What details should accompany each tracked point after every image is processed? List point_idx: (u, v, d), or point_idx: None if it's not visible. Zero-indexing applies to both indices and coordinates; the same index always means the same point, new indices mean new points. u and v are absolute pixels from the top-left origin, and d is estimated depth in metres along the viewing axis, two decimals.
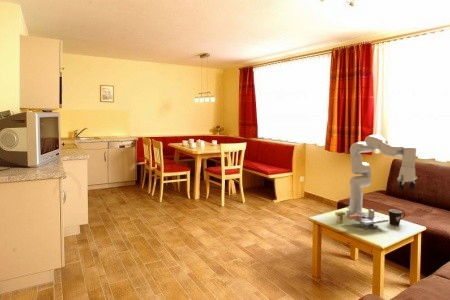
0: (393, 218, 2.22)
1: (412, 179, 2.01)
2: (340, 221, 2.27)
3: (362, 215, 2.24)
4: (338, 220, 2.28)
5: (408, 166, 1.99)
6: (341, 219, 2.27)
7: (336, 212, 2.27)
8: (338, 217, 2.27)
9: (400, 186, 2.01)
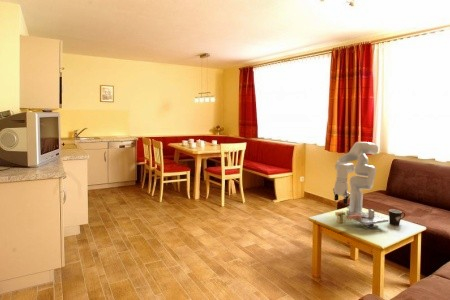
0: (393, 218, 2.22)
1: None
2: (340, 221, 2.27)
3: (362, 215, 2.24)
4: (338, 220, 2.28)
5: None
6: (341, 219, 2.27)
7: (336, 212, 2.27)
8: (338, 217, 2.27)
9: (346, 200, 2.21)
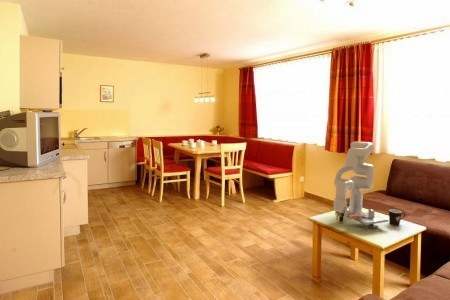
0: (393, 218, 2.22)
1: None
2: None
3: (362, 215, 2.24)
4: (338, 220, 2.28)
5: None
6: None
7: (336, 212, 2.27)
8: (338, 217, 2.28)
9: (342, 218, 2.25)
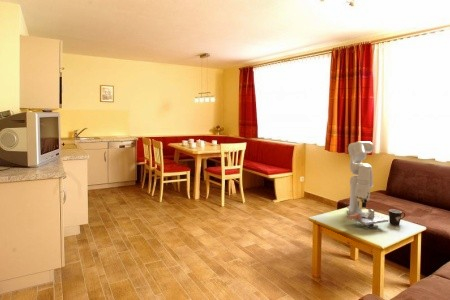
0: (393, 218, 2.22)
1: None
2: None
3: (362, 215, 2.24)
4: (360, 206, 2.18)
5: (369, 183, 2.14)
6: None
7: (358, 198, 2.18)
8: (360, 203, 2.18)
9: (365, 204, 2.16)
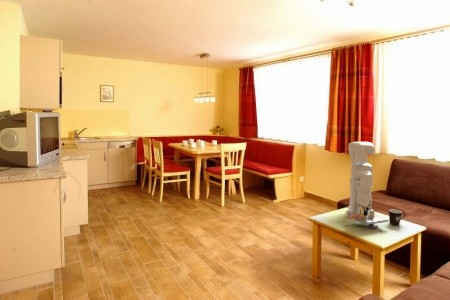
0: (393, 218, 2.22)
1: None
2: None
3: None
4: (362, 214, 2.18)
5: (370, 191, 2.14)
6: None
7: (360, 206, 2.17)
8: (362, 211, 2.17)
9: (366, 212, 2.15)
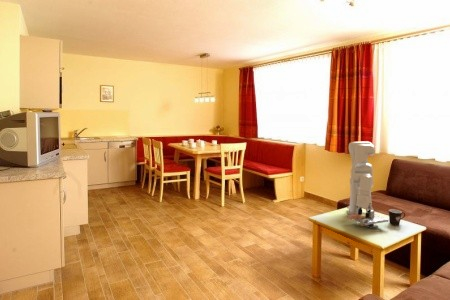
0: (393, 218, 2.22)
1: None
2: (363, 224, 2.18)
3: None
4: (361, 223, 2.19)
5: (370, 193, 2.15)
6: None
7: None
8: None
9: (368, 214, 2.14)
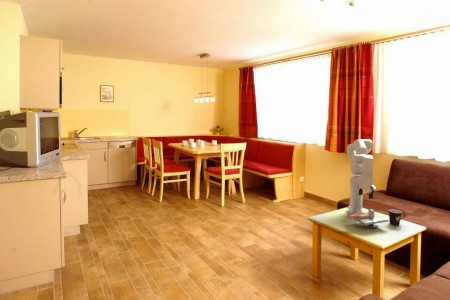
0: (393, 218, 2.22)
1: None
2: (363, 224, 2.18)
3: None
4: (361, 223, 2.19)
5: (372, 175, 2.14)
6: None
7: None
8: None
9: (372, 195, 2.12)
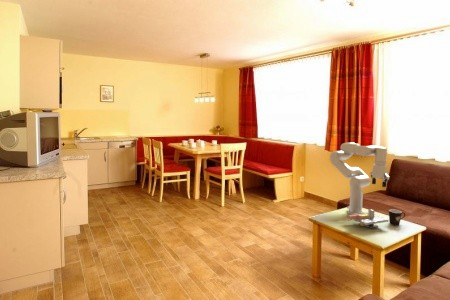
0: (393, 218, 2.22)
1: None
2: (363, 224, 2.18)
3: None
4: (361, 223, 2.19)
5: (385, 164, 2.24)
6: None
7: None
8: None
9: (385, 183, 2.22)
